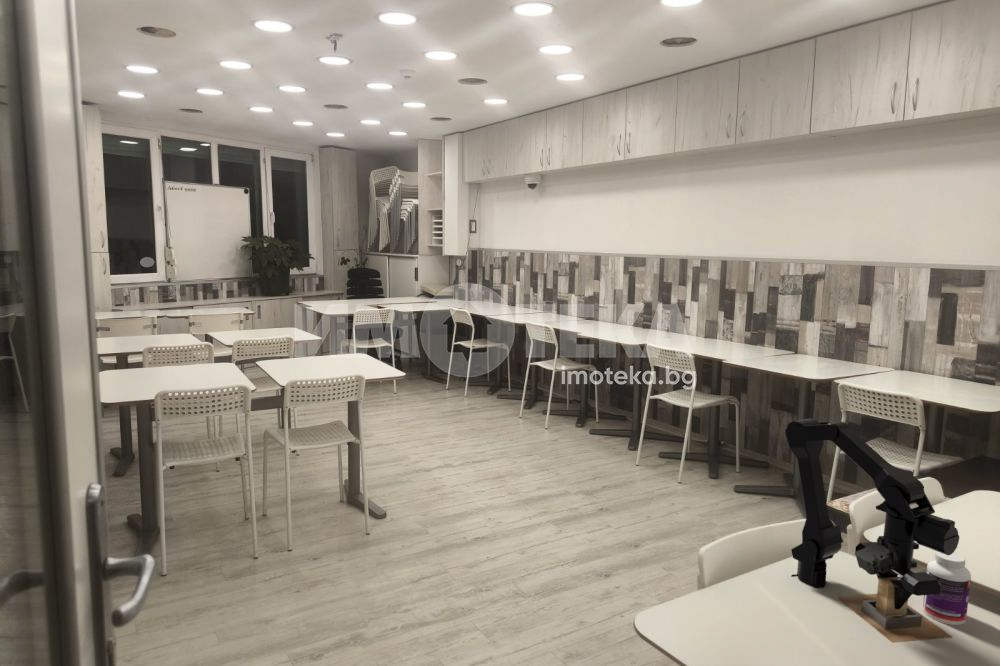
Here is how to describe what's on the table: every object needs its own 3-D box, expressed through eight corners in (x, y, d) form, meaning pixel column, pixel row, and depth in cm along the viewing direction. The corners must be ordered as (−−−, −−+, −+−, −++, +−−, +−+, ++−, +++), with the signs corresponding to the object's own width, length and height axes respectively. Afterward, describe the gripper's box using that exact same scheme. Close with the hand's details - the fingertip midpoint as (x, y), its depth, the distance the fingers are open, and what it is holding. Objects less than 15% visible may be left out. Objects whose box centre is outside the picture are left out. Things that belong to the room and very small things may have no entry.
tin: (861, 610, 151) (862, 600, 151) (895, 608, 153) (896, 598, 152) (885, 629, 144) (886, 619, 144) (920, 626, 146) (922, 616, 145)
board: (835, 599, 157) (835, 596, 157) (890, 595, 160) (890, 592, 160) (891, 645, 140) (892, 642, 140) (952, 640, 142) (953, 637, 142)
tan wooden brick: (875, 608, 149) (878, 578, 148) (896, 606, 150) (899, 576, 149) (885, 616, 146) (888, 585, 145) (906, 614, 147) (909, 583, 146)
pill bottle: (972, 630, 146) (980, 566, 144) (930, 625, 148) (937, 562, 146) (955, 610, 154) (963, 549, 152) (916, 606, 155) (922, 545, 153)
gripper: (836, 519, 154) (830, 585, 156) (896, 558, 135) (889, 632, 138) (881, 517, 155) (874, 582, 158) (946, 555, 137) (938, 628, 139)
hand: (891, 604), depth 148 cm, fingers closed on tan wooden brick, 3 cm apart
